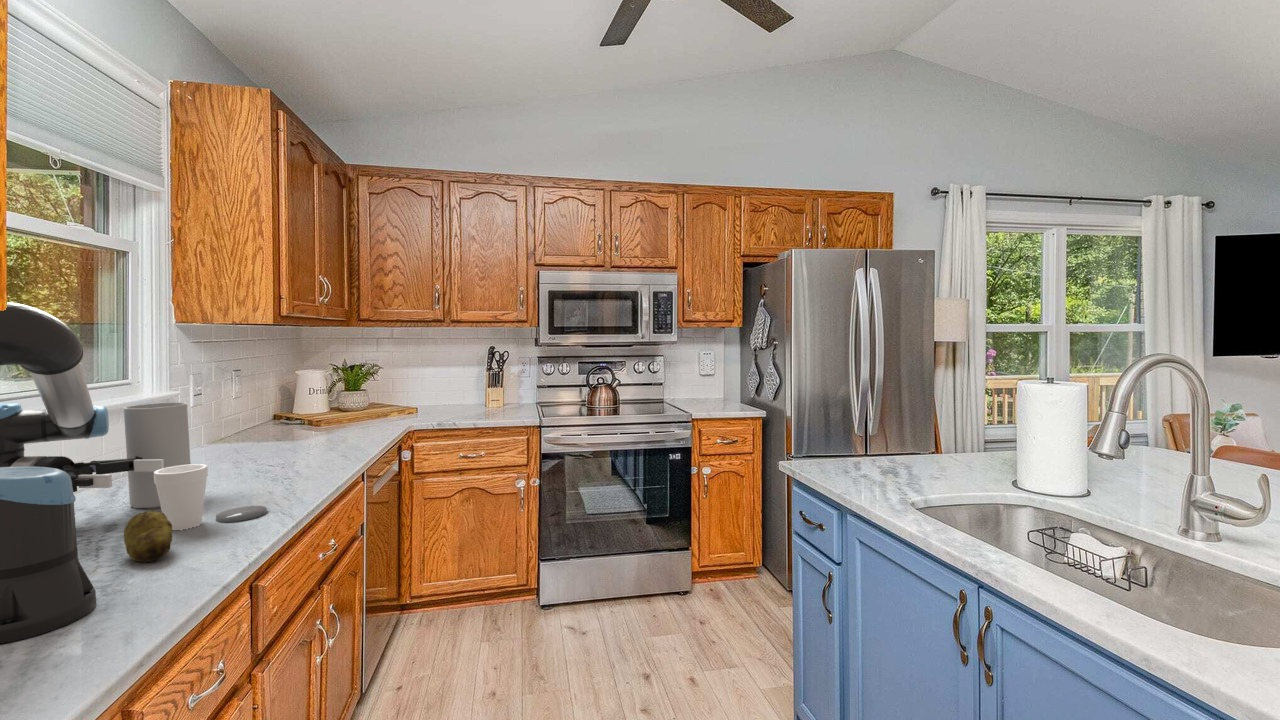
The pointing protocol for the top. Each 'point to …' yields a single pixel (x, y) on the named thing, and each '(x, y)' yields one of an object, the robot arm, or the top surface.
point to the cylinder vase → (155, 445)
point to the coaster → (241, 513)
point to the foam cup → (182, 494)
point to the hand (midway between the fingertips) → (138, 472)
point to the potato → (148, 536)
